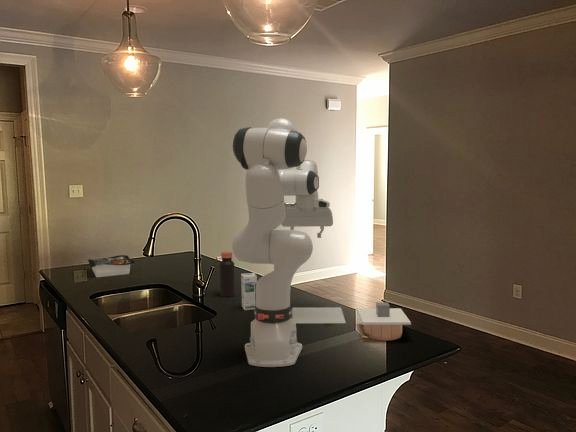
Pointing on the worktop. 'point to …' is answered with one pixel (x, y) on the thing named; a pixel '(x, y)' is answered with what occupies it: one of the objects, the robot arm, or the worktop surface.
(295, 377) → the worktop surface
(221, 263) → the bottle
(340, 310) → the mat
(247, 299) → the syrup box
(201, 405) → the worktop surface
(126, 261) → the food packaging
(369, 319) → the cover sheet
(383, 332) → the bowl
